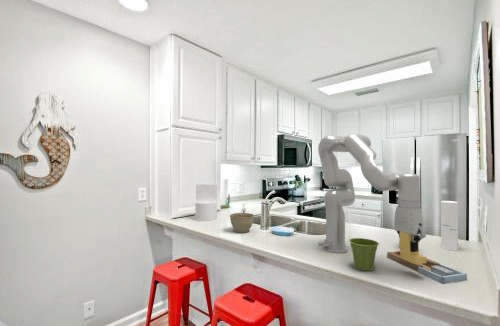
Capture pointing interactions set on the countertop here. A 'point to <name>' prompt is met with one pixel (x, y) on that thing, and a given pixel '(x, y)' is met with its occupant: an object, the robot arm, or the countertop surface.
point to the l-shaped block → (409, 250)
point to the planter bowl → (241, 221)
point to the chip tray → (444, 279)
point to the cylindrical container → (449, 225)
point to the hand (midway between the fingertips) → (409, 249)
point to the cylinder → (206, 202)
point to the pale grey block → (436, 269)
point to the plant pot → (363, 252)
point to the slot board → (396, 257)
